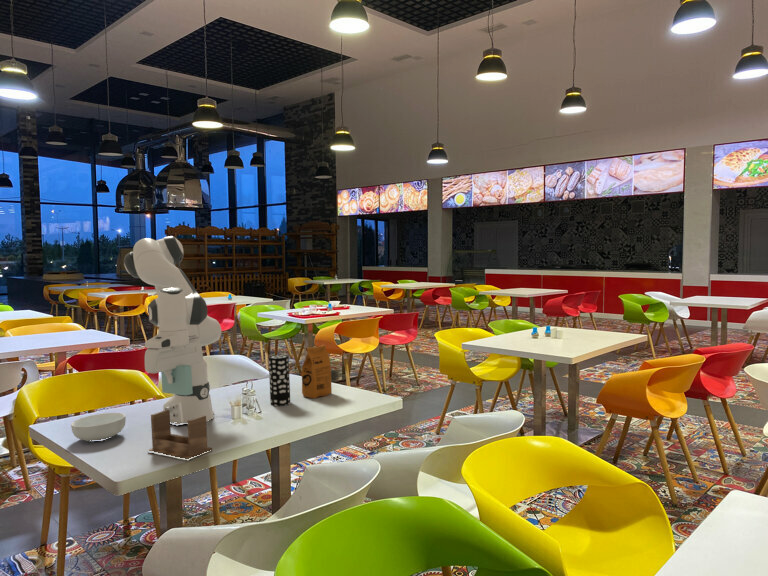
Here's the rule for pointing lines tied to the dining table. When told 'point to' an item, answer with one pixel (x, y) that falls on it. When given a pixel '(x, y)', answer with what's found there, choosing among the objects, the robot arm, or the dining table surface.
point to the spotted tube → (279, 380)
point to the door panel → (178, 381)
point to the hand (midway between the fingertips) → (176, 381)
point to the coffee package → (316, 373)
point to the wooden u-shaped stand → (178, 436)
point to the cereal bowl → (98, 426)
